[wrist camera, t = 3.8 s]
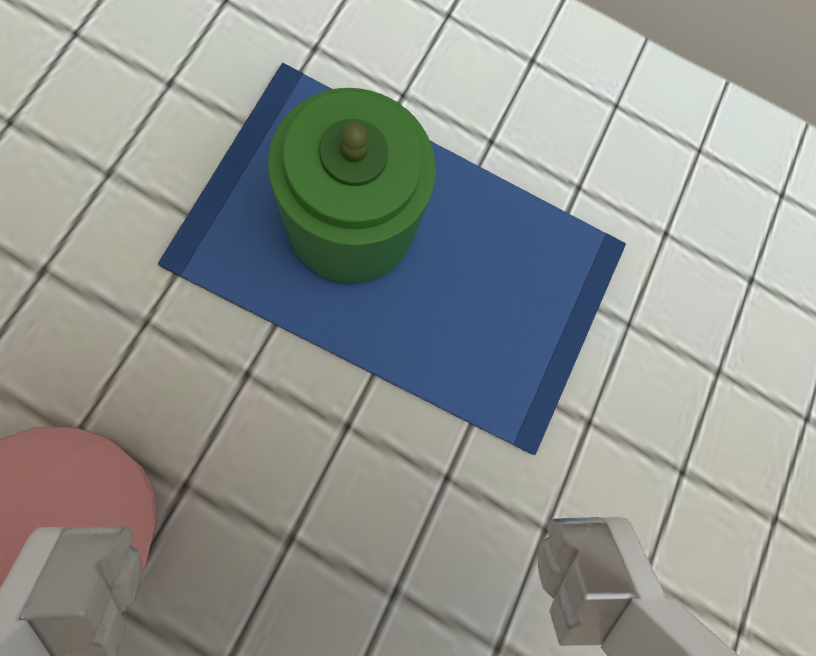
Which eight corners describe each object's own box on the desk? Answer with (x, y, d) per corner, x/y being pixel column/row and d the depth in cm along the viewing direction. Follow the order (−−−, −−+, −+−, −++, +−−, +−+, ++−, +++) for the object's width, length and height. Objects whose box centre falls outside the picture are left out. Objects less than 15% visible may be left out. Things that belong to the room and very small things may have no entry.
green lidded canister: (263, 249, 25) (220, 163, 17) (324, 144, 27) (314, 11, 18) (378, 308, 26) (397, 255, 17) (434, 201, 27) (478, 99, 18)
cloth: (160, 266, 25) (156, 263, 25) (283, 67, 27) (282, 61, 27) (532, 454, 26) (535, 455, 25) (622, 245, 28) (626, 243, 28)
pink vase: (-42, 571, 22) (-475, 751, 10) (44, 399, 24) (-252, 388, 12) (135, 632, 23) (-89, 871, 11) (209, 459, 24) (81, 506, 12)
